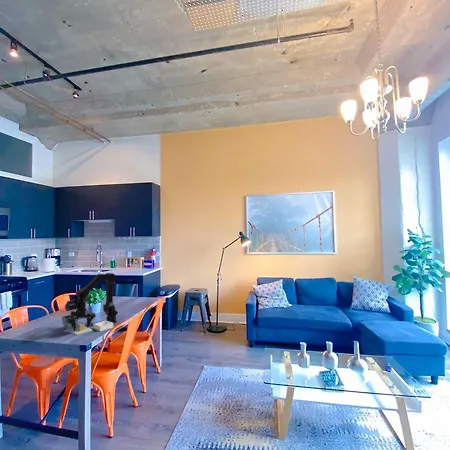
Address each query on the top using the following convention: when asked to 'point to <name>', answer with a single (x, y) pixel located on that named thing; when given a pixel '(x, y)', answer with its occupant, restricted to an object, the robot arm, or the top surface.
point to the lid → (81, 329)
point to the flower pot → (67, 325)
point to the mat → (79, 334)
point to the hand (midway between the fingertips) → (81, 329)
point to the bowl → (103, 325)
